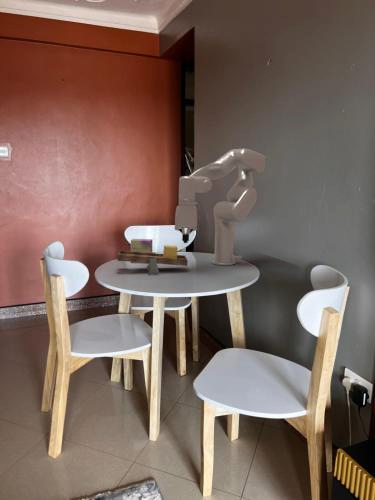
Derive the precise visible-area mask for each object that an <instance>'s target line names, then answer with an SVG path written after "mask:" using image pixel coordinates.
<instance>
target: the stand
mask: <svg viewBox="0 0 375 500" xmlns="http://www.w3.org/2000/svg"><path fill="white" fill-rule="evenodd" d="M149 253H156V252H154V251H152V252H149ZM146 269H147V270H146V271H147V276H159V275H160V272H159V267H158V264H157V259H156V258H150V263H148V264H147V265H146Z"/></svg>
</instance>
